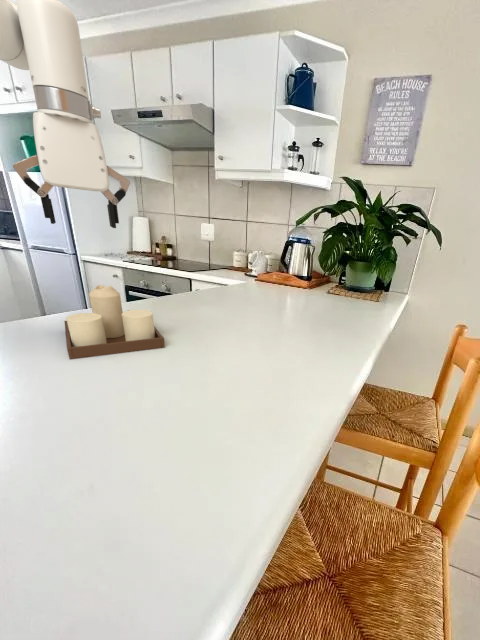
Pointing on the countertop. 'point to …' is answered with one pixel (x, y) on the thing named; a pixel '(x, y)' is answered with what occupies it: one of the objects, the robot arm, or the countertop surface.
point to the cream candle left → (86, 329)
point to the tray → (113, 346)
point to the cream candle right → (138, 325)
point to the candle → (108, 309)
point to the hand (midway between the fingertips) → (84, 225)
